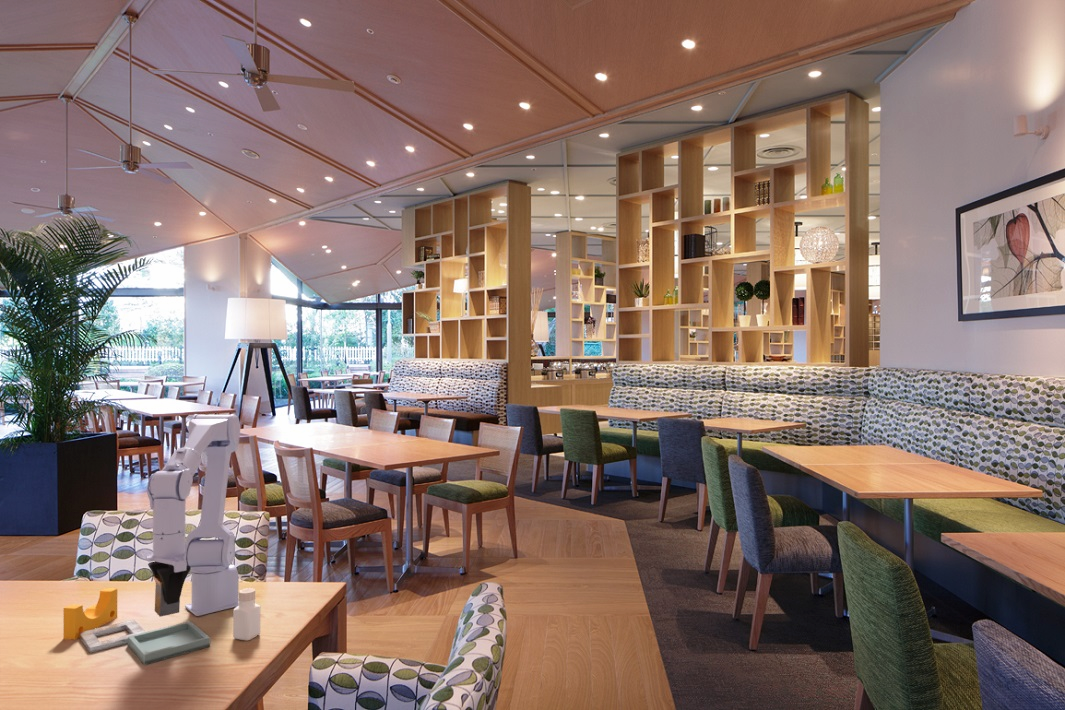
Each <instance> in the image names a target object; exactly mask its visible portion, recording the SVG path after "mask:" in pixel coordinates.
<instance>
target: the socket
mask: <svg viewBox="0 0 1065 710" xmlns="http://www.w3.org/2000/svg"><path fill="white" fill-rule="evenodd" d="M125 630H126V631H127V632H128V634H125V635H121V636H118V637H114V638H111V639H110V638H109V639H105V640H99V639H98V637H101V636H105V635H110V634H114V633H117V632H121V631H125ZM144 632H147V631H146V630H145V629H144V628H143V627H142V626H141V625H140V624H139V623H138V622H137V621H136V620H135V619H132V620H127V621H123V622H117V623H114V624H110V625H105V626H100V627H98V628H96V629H92V630H88V631H84V632H79V638H78V639H80V641H81V642H82V644H83V645H84V646H85V648H86V649H87V651H88V652H89V654H91V653H95V652H99V651H104V650H108V649H110V648H111V649H113V648H114V647H119V646H123V645H126V644H127V645H128V636H132V635H136V634H140V633H144Z"/></svg>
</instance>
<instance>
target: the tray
mask: <svg viewBox="0 0 1065 710" xmlns="http://www.w3.org/2000/svg"><path fill="white" fill-rule="evenodd" d="M127 646H128V647H129V649H130V650H131V651H132V652H133V654H135V655H136V657H137V658H138V659H139V660H140V661H141V662H142V664H143V665H148V664H153V663H157V662H160V661H164V660H166V659H172V658H174V657H177V656H181V655H182V656H183V655H185V654H188V653H193V652H197V651H200V650H203V649H206V648H210V647H211V637H210V636H208V635H207V634H206V633H205V632H204V631H203V630H201V629H200V628H199V626H197V625H196V624H195V623H193V622H192V621H191V620H189V621H185V622H182V623H181V622H180V623H177V624H172V625H170V626H169V625H168V626H165V627H160V628H157V629H153V630H150V631H146V632H144V633H140V634H136V635H132V636H128V643H127Z"/></svg>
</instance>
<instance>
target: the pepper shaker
mask: <svg viewBox="0 0 1065 710" xmlns="http://www.w3.org/2000/svg"><path fill="white" fill-rule="evenodd" d="M238 603H239V606H237V607H234V608H233V610H232V611H233V612H232V617H233V618H232V619H233V620H232V628H233V630H232V632H233V633H232V636H233V637H232V638H234V639H235V640H241V641H250V640H252V639H254V638H256V637H257V635H258V636H259V635H260V634H261V606H260V605H259V604H257V603H256V589H255V588H252V587H251V588H250V587H246V588H243V589H240V590H238Z"/></svg>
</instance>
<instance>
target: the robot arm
mask: <svg viewBox="0 0 1065 710" xmlns="http://www.w3.org/2000/svg"><path fill="white" fill-rule="evenodd" d="M240 436H241V422H240V418H239V417H238V416H237V414H235V413H231V414H199V413H194V414H193V415H192V417H190V419H189V423H188V438H187V440H186V442H185V444H184V446H183V447H178V449H176V450H175V451H174V452H173V453H172V455H171V456H170V458H169V459H168V460H167V462H166V463H165V464H164V466H163V467H162V468H161V470H158V471H155V472H154V473H152V474H151V475H150V476H149V478H148V482H147V486H146V487H147V488H146V495H147V497H148V499H149V508H150V510H152V552H151V553H152V554H151V555H147V556H146V557H145V561H147V562H149V563H147V565H148V567H149V569H150V571H151V573H152V575H153V577H154V576H156V575H159V576H160V578H161V580H162V583H163V588H164V595H165V600H166V603H167V604H173V603H177V602H179V599H181V595H182V590H183V587H184V583H185V581H186V578H187V577H188V575H189V573H191V602H190V603H189V604H185V605H184V607H185V608H186V609H187V610H188V611H189V612H191V614H192V615H194V616H196V617H200V616H205V615H209V614H212V613H216V612H220V611H223V610H229V609H232V608H233V609H234V608H236V607H237V606H239V585H240V584H239V572H238V569H237V567H236V565H235V564H233V563H234V559H235V555H236V546H235V545H236V544H235V533H234V532H233V531H232V530H231V529H229V528H228V527H227V526H226V525H224V517H225V507H226V498H227V497H226V496H227V489H228V480H229V469H230V461H231V456H232V453H234V452H236V451H237V450H238V449H239V445H240ZM203 453H204V454H206V457H207V458H206V460H207V461H206V468H205V469H206V470H205V477H204V485H203V495H202V501H201V502H202V503H201V512H200V520H199V525H198V526H197V527H195V528H194V529H193V530H191V531H190V532H189V533H187V536H186V501H187V498H188V497H190V493H191V489H192V485H193V481H194V479H193V477H194V475H195V474H196V472H197V470H198V469H199V467H200V465H201V464H202V457H201V455H202V454H203ZM207 538H221V539H207ZM154 581H155V580H154ZM155 583H156V581H155Z"/></svg>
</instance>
